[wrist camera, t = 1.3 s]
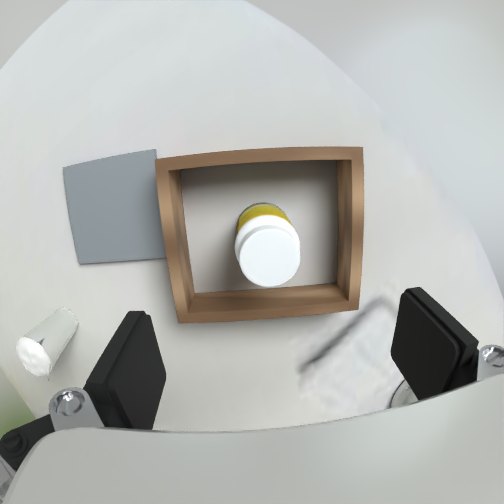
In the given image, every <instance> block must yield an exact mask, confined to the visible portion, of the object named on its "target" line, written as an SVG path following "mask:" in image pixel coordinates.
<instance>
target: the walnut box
mask: <svg viewBox="0 0 504 504" xmlns="http://www.w3.org/2000/svg"><path fill="white" fill-rule="evenodd" d="M334 159H337V176H338V263H337V283H329V284H318V285H307V286H295V287H282V288H269V289H255V290H241V291H225V292H207V293H195V292H194V285H193V278H192V272H191V265H190V258H189V250H188V243H187V235H186V227H185V218H184V210H183V201H182V191H181V182H180V171H179V169H186V168H195V167H204V166H215V165H226V164H238V163H252V162H269V161H291V160H334ZM154 161H155V171H156V181H157V190H158V199H159V207H160V215H161V222H162V230H163V237H164V243H165V250H166V256H167V262H168V268H169V274H170V280H171V286H172V291H173V297H174V302H175V307H176V312H177V317H178V322H179V323H203V322H225V321H243V320H258V319H271V318H284V317H295V316H306V315H316V314H326V313H335V312H343V311H352V310H358V309H359V298H360V286H361V272H362V255H363V230H364V164H363V147H285V148H263V149H247V150H234V151H222V152H211V153H202V154H193V155H184V156H176V157H168V158H161V159H154Z"/></svg>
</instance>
